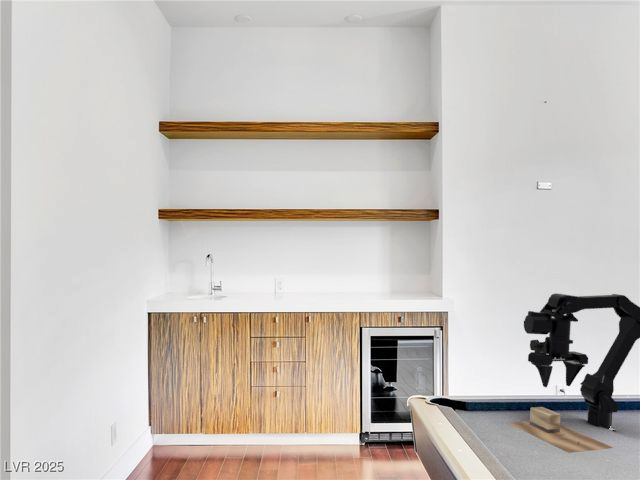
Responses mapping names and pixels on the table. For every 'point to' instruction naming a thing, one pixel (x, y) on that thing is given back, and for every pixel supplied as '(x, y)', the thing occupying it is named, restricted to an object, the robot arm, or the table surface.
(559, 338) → the robot arm
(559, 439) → the light brown wooden board
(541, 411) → the block
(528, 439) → the table surface
